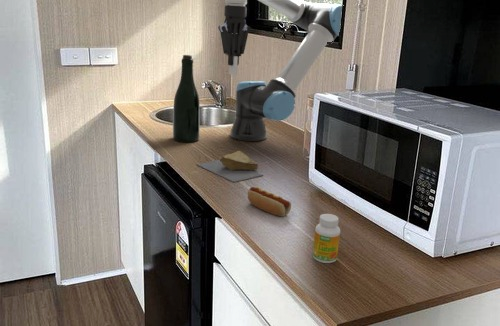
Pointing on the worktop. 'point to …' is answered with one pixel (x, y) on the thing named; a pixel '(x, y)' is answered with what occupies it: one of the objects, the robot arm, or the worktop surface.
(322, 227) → the supplement bottle
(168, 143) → the worktop surface
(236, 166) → the yellow wedge
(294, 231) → the worktop surface
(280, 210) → the food
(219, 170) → the mat
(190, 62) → the dark green wine bottle
